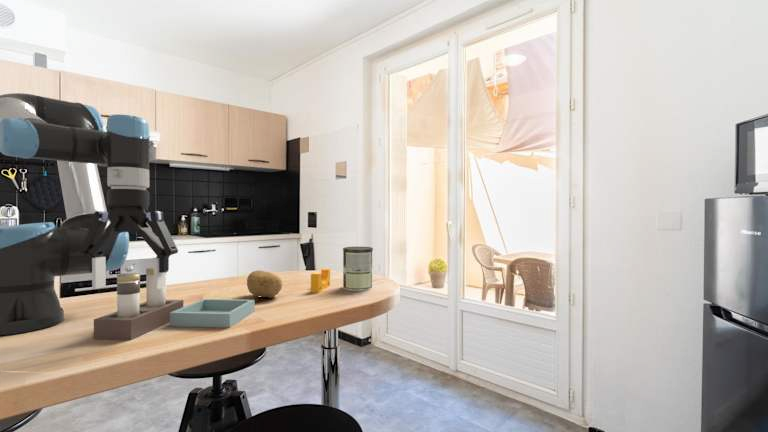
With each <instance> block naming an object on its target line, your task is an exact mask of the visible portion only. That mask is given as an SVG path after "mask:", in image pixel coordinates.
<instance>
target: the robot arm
mask: <svg viewBox="0 0 768 432" xmlns="http://www.w3.org/2000/svg"><path fill="white" fill-rule="evenodd" d="M149 127H150V126H149V122H148V121H147V120H146V119H144V118H142V117H139V116H136V115H129V114H118V113H117V114H111V115H109V116H108V117H107V122H106V126H105V130H106V131H105V130H104V121H103V117H102V116H101V114H100V112H99V111H98V109H97V108H95V107H94V106H92V105H88V104H84V103H81V102H72V101H67V100H61V99H56V98H53V97H52V98H51V97H45V96H40V95H35V94H31V93H20V92H19V93H15V92H14V93H13V92H12V93H4V94H0V153H1V154H2V155H4V156H8V157H14V158H20V159H26V160H28V159H33V160H35V159H36V160H45V161H46V160H49V161H56V162H57V169H58V175H59V181H60V187H61V193H62V198H63V204H64V209H65V215H66V216H65V217H66V219H64V220H63V221H62V222H61V224H60V227H56V225H55V223H54V222H52V221H48V222H47V221H46V222H32V223H24V224H15V225H8V226H7V225H6V226H0V336H5V335H8V336H9V335H14V334H21V333H27V332H33V331H38V330H42V329H46V328H49V327H53V326H56V325H58V324H61V323H62V322H64V320H65V311H64V309H63V307H61V303H60V300H59V297H58V294H57V293H56V289H55V277H63V276H71V275H83V274H84V275H85V274H91V275H92V276H91V278H92V279H91V287H92V288H91V289H92V290H93V289H94V290H96V289H99V288H104V287H106V283H107V280H106V277H107V276H106V274H107V273H106V272H111V271H116V270H119V269H120V268H121V267H123V266H124V264H125V262H126V260H127V257H128V254H129V248H130V235H129V234H130V233H136V234H138V235H140V237H141V238H142V239H143V240H144V242H145V243H146V244H147V245H148V246H149V248H150V249H151V250H152V251H153V252H154V254H155V255H156V256H155V257H153V268H154V289H159V288H163V287H165V272H166V273H167V272H169V269H170V268H169V266H170V265H169V264H170V261H169V260H170V259H169V258H170V256H172V255H174V254H175V255H177V253H178V252H179V249H178V247H177V245H176V243H175V241H174V239H173V237H172V235H171V233H170V231H169V229H168V226H167V225H166V223H165V219H164V212H163V211H162V210H161V211H159V210H152V211H149V206H150V191H149V190H148V188H150V138H151V136H150V135H151V134H150V128H149ZM98 166H100V167H105V168H107V172H106V173H107V181H106V183H107V184H106V185H107V186H108V187H109V188H110V189H108V190H106V191H107V192H106V193H107V194H106V195H107V197H106V198H107V200H106V201H105V197H104V191H103V187H102V182H101V178H100V174H99V169H98ZM106 202H107V203H106ZM106 205H107V206H108V207H109V210H107V206H106ZM148 221H150V222H151V225H152V227H153V228H152V227H151V226H150V225H149V223H148ZM153 229H154V231H153ZM155 233H156V234H155Z"/></svg>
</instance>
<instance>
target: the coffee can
mask: <svg viewBox="0 0 768 432" xmlns="http://www.w3.org/2000/svg"><path fill="white" fill-rule="evenodd" d="M373 250H374V249H373V247H371V246H346V247H342V251H343V252H342V253H343V254H342V255H343V258H342V260H343V261H342V262H343V263H342V265H343V266H342V267H343V268H342V270H343V271H342V273H343V276H342V281H343V282H342V288H343V290H346V291H354V292H355V291H356V292H358V291H359V292H361V291H362V292H363V291H369V290H372V289H373Z"/></svg>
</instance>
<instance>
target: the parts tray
mask: <svg viewBox="0 0 768 432" xmlns="http://www.w3.org/2000/svg"><path fill="white" fill-rule="evenodd" d="M255 303H256V302H255V299H235V298H234V299H233V298H232V299H231V298H230V299H229V298H228V299H226V298H223V299H222V298H220V299H219V298H202V299H200V300H197V301H195V302H192V303H190V304H188V305H185V306H183V307H182V308H180V309H178V310H175V311H173V312H170V322H169V327H187V328H190V327H191V328H192V327H193V328H221V329H222V328H223V329H224V328H225V329H229V328H231V327H233V326H235V325H236V324H238V323H239V322H241V321H243V320H244V319H246V318H247V317H248V316H250V315H252V314H253V313H255V312H256V311H255V310H256V309H255V308H256V307H255V305H256V304H255Z"/></svg>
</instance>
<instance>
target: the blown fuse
mask: <svg viewBox="0 0 768 432" xmlns="http://www.w3.org/2000/svg"><path fill="white" fill-rule="evenodd" d="M116 281H117V282H116V297H117V299H116V301H117V302H116V304H117V307H116V310H117V311H116V312H117V317H123V318H132V317H135V316H137V315H140V304H141V302H140V301H141V300H140V299H141V297H140V292H141V274H140V272H139V273H137V272H130V273H129V272H128V273H119V274H117V275H116Z"/></svg>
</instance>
